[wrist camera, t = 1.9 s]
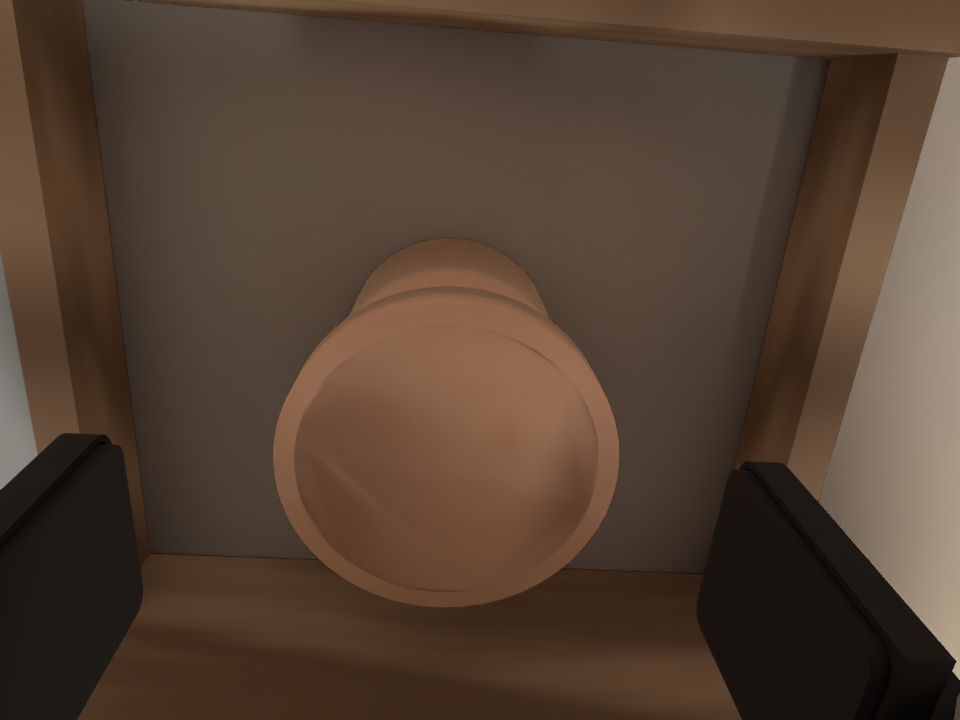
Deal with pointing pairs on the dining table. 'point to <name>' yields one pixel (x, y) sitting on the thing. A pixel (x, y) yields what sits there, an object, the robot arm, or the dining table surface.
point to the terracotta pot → (446, 434)
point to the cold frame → (569, 592)
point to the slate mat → (12, 398)
